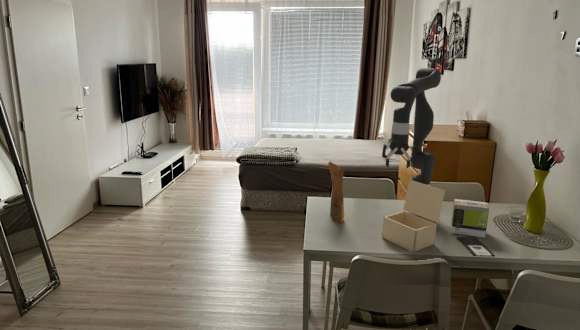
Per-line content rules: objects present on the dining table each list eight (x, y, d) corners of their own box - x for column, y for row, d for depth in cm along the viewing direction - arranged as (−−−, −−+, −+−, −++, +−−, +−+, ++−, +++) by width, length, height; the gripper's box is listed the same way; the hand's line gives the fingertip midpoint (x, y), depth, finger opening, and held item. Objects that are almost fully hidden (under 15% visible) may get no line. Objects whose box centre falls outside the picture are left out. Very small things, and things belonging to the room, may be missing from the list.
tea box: (483, 230, 207) (487, 201, 203) (485, 238, 197) (489, 208, 194) (450, 226, 211) (454, 197, 207) (450, 233, 202) (454, 204, 198)
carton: (401, 230, 203) (403, 211, 201) (434, 244, 189) (436, 223, 187) (381, 237, 195) (383, 217, 193) (413, 252, 181) (416, 230, 179)
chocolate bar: (475, 237, 197) (494, 254, 180) (475, 239, 198) (494, 257, 180) (456, 236, 197) (473, 254, 180) (456, 238, 198) (473, 256, 180)
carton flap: (403, 209, 201) (404, 209, 201) (437, 222, 186) (438, 222, 187) (409, 179, 198) (410, 179, 199) (444, 190, 184) (445, 190, 184)
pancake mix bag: (333, 224, 208) (336, 169, 201) (324, 210, 226) (327, 159, 219) (346, 224, 209) (350, 169, 202) (337, 210, 227) (340, 159, 220)
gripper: (416, 131, 191) (412, 166, 195) (383, 129, 193) (381, 164, 198) (417, 134, 184) (414, 170, 188) (384, 133, 186) (381, 168, 191)
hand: (397, 167), depth 193 cm, fingers open, 8 cm apart
